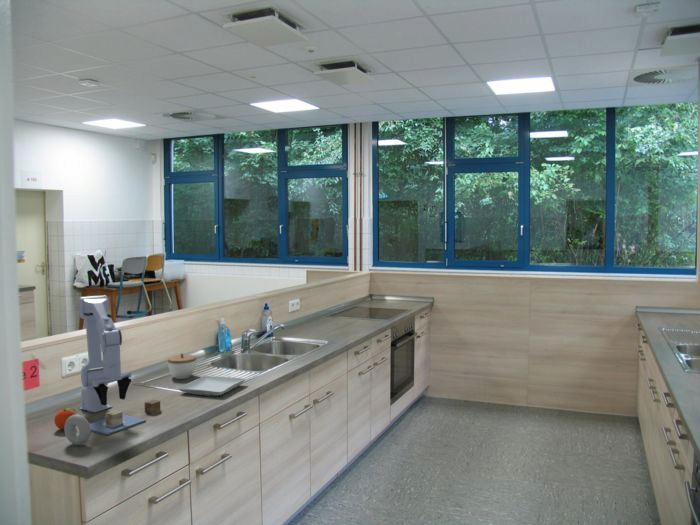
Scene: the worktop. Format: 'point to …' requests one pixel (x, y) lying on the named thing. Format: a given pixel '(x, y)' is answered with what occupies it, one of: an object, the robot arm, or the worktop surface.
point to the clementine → (63, 417)
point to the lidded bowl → (182, 366)
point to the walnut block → (152, 406)
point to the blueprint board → (108, 429)
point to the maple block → (114, 417)
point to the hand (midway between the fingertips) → (113, 401)
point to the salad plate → (211, 385)
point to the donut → (82, 426)
